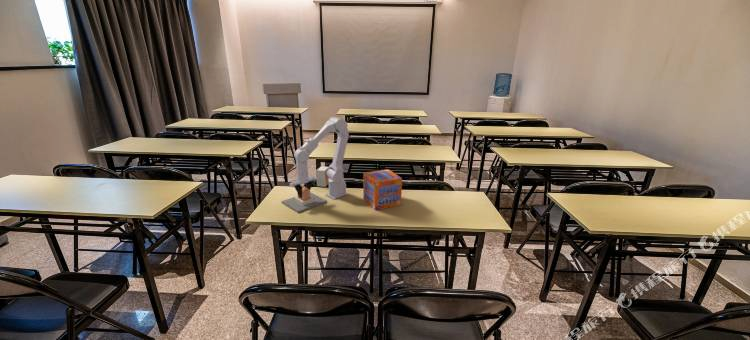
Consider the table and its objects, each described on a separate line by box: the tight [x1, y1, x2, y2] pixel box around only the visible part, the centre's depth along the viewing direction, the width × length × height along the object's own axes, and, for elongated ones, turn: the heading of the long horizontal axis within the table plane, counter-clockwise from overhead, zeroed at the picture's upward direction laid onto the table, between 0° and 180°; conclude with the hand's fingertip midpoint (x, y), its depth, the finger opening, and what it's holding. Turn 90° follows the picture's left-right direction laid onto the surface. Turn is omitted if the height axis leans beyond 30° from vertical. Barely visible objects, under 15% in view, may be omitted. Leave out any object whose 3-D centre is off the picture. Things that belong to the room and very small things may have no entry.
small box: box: [316, 165, 329, 188], centre depth 188 cm, size 8×6×10 cm
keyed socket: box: [281, 191, 328, 214], centre depth 164 cm, size 18×16×3 cm
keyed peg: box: [297, 185, 311, 201], centre depth 163 cm, size 6×4×6 cm, turn 46°
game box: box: [362, 169, 403, 211], centre depth 165 cm, size 16×16×16 cm
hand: (304, 196), depth 163 cm, fingers closed on keyed peg, 4 cm apart
